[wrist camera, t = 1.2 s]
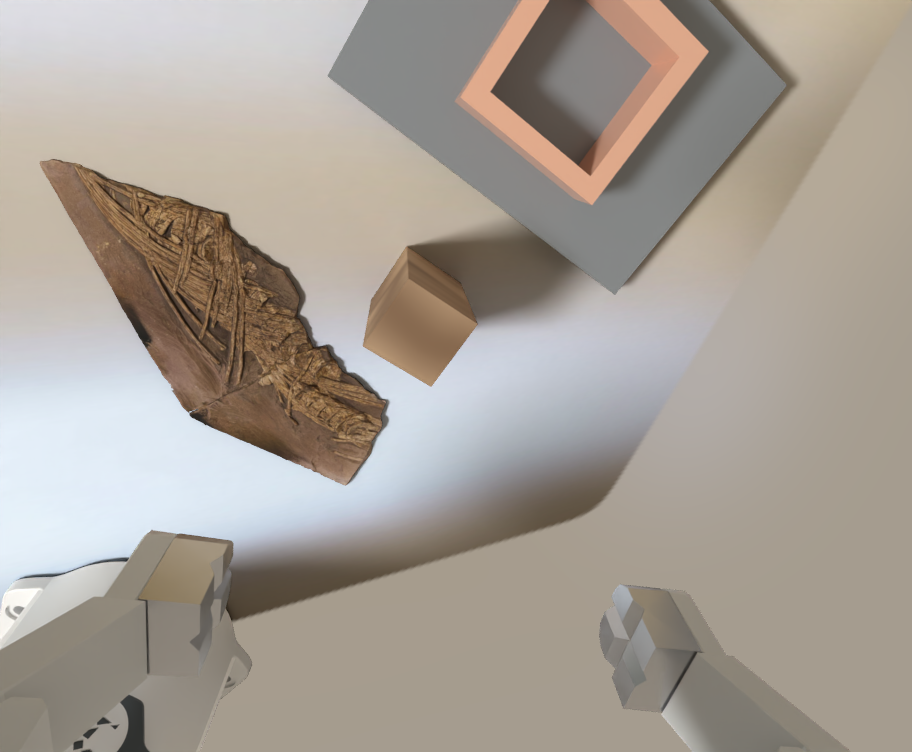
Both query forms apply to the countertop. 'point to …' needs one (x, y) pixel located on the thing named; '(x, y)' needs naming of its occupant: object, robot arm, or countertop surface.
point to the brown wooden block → (418, 318)
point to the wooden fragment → (221, 324)
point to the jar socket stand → (566, 108)
